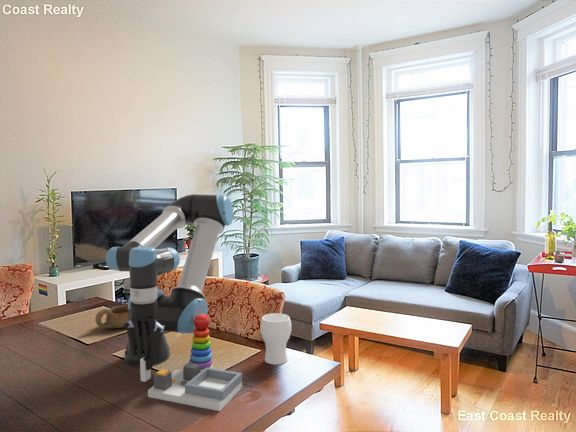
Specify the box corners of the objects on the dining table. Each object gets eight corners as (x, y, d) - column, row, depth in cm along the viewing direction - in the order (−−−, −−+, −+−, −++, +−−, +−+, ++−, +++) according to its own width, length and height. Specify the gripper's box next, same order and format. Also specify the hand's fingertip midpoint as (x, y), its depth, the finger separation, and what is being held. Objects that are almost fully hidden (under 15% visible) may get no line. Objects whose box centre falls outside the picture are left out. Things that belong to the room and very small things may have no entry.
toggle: (183, 379, 131) (183, 366, 131) (188, 375, 134) (188, 362, 134) (195, 381, 130) (194, 368, 130) (200, 377, 133) (200, 364, 132)
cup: (287, 368, 144) (288, 323, 143) (256, 365, 146) (256, 321, 145) (293, 355, 154) (294, 313, 153) (264, 352, 157) (264, 311, 155)
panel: (148, 396, 125) (147, 388, 125) (175, 376, 138) (175, 368, 138) (219, 411, 117) (219, 402, 117) (242, 387, 130) (241, 379, 130)
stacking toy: (201, 378, 136) (200, 320, 135) (183, 372, 141) (182, 315, 139) (218, 369, 143) (217, 313, 141) (200, 363, 147) (199, 309, 146)
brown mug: (114, 333, 171) (108, 308, 172) (92, 337, 178) (86, 313, 178) (149, 320, 187) (143, 297, 187) (127, 324, 194) (122, 302, 194)
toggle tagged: (154, 388, 126) (153, 372, 125) (160, 383, 129) (159, 368, 128) (165, 390, 124) (165, 374, 124) (171, 385, 127) (171, 370, 127)
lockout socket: (185, 393, 123) (184, 384, 123) (206, 375, 134) (206, 367, 134) (223, 400, 119) (223, 391, 119) (241, 381, 130) (241, 373, 130)
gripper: (116, 301, 125) (118, 381, 127) (154, 306, 120) (156, 388, 122) (134, 295, 132) (136, 370, 134) (170, 299, 127) (172, 377, 129)
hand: (145, 379), depth 128 cm, fingers closed
